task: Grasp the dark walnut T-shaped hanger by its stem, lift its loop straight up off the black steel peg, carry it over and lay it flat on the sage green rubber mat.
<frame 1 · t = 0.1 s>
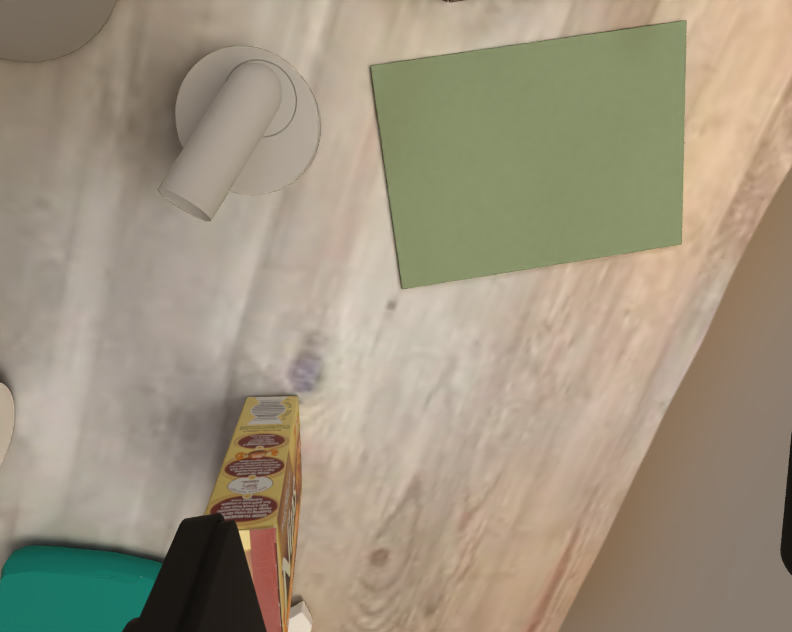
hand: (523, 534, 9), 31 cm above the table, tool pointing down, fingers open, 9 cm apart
candy box: (277, 444, 43), on the table
wall hook: (250, 134, 36), on the table
felt mat: (536, 161, 38), on the table
spray bottle: (168, 605, 47), on the table
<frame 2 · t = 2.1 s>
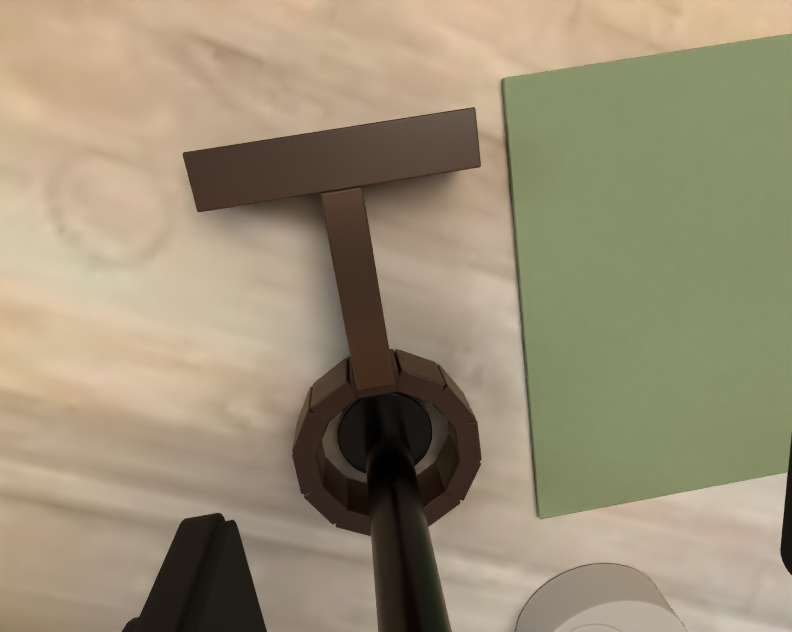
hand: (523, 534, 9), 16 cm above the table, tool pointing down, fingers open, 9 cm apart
wall hook: (598, 627, 31), on the table
peg stand: (384, 429, 26), on the table
hanger: (384, 429, 26), on the table
felt mat: (679, 297, 25), on the table
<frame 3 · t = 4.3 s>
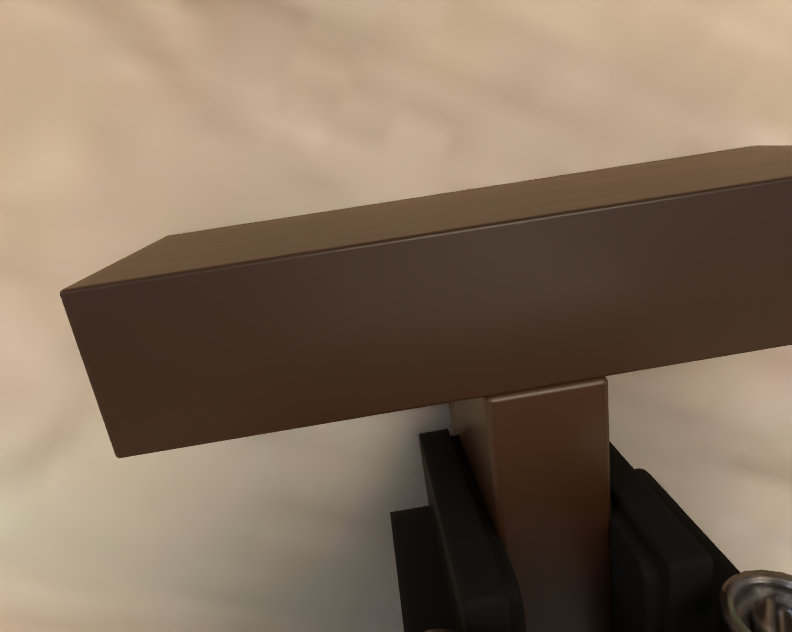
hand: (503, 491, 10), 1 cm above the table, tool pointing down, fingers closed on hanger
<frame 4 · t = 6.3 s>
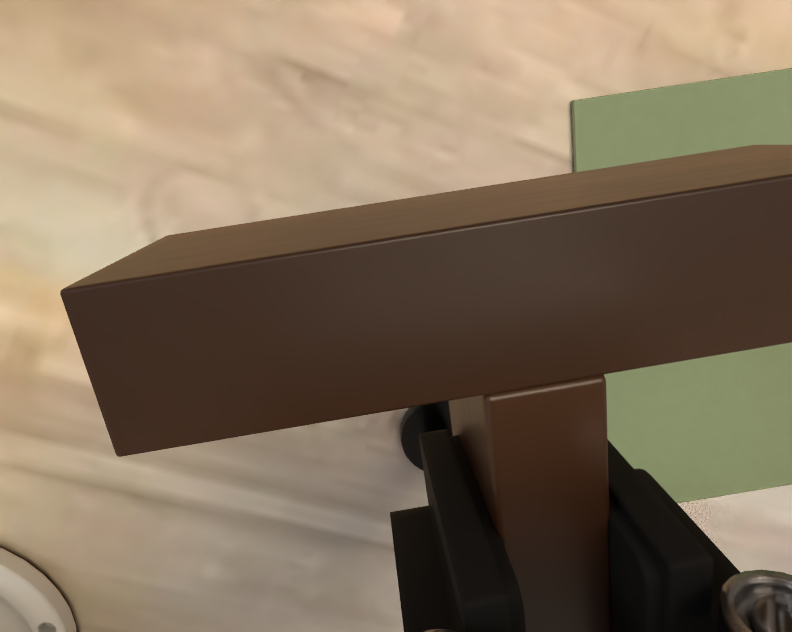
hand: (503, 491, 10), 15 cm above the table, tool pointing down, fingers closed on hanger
peg stand: (444, 430, 27), on the table
felt mat: (731, 310, 26), on the table
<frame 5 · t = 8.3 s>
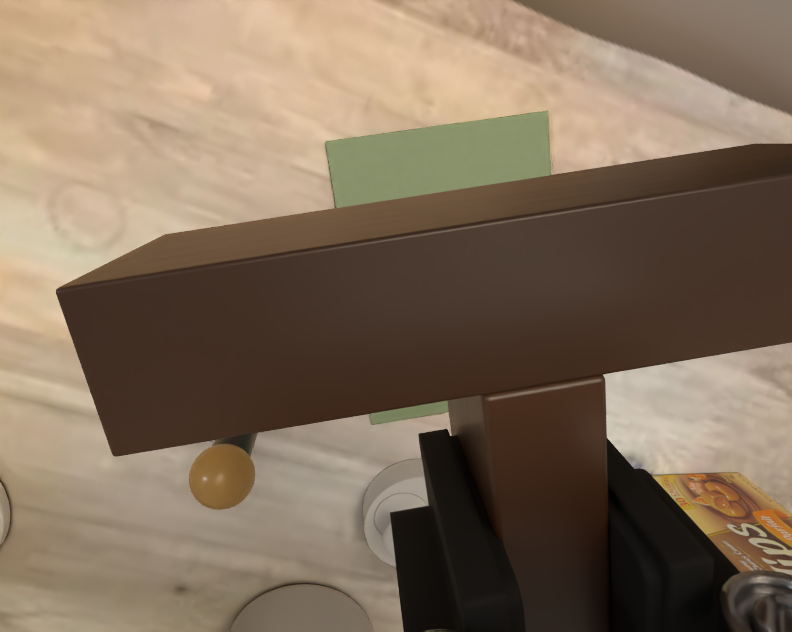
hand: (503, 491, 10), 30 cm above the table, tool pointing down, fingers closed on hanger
candy box: (686, 490, 47), on the table
wall hook: (421, 506, 45), on the table
peg stand: (264, 360, 40), on the table
felt mat: (452, 278, 40), on the table
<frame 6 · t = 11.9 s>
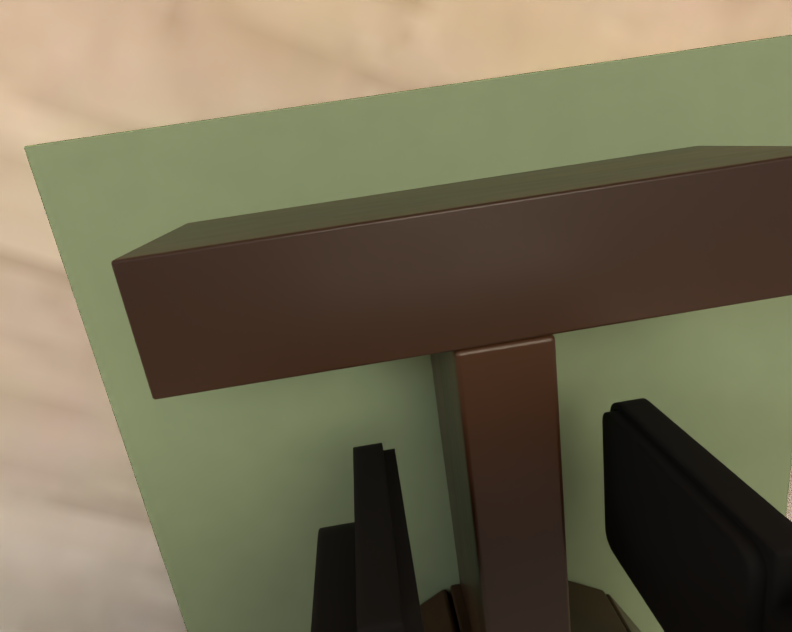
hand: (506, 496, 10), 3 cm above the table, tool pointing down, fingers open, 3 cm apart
felt mat: (487, 543, 13), on the table
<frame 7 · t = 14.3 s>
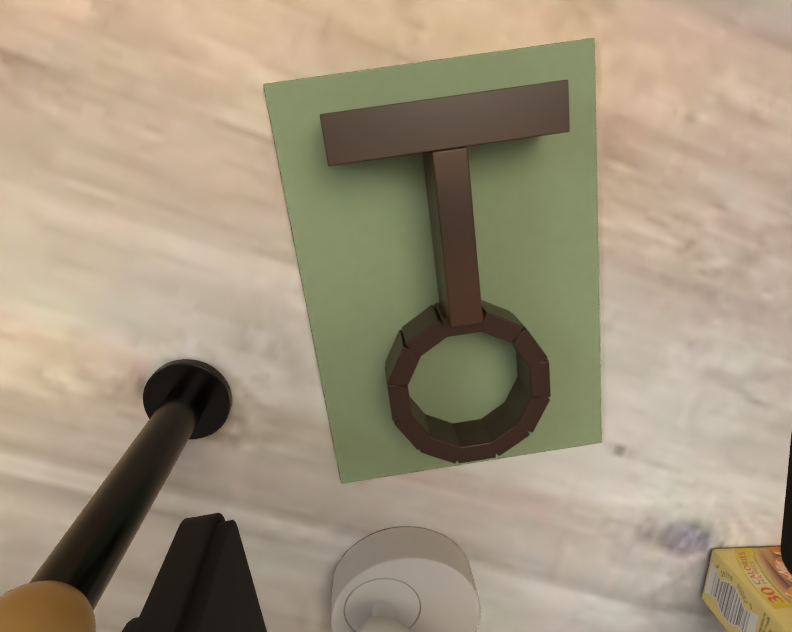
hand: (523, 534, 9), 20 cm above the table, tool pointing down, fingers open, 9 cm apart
candy box: (767, 565, 36), on the table
wall hook: (411, 586, 34), on the table
peg stand: (189, 397, 29), on the table
hanger: (461, 371, 29), resting on felt mat
felt mat: (452, 284, 28), on the table
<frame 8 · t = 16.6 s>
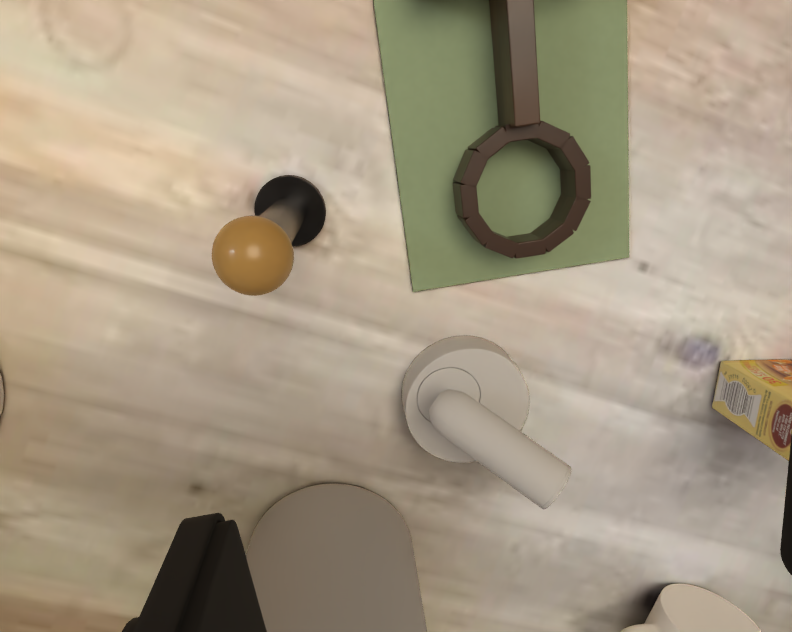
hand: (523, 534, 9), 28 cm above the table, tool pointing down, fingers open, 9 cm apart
candy box: (766, 380, 42), on the table
wall hook: (467, 394, 40), on the table
peg stand: (291, 210, 35), on the table
cylinder vase: (331, 545, 43), on the table
hanger: (514, 188, 35), resting on felt mat
felt mat: (509, 111, 34), on the table
mug: (651, 622, 48), on the table
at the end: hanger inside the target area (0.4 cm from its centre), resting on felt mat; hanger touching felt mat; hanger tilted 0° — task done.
